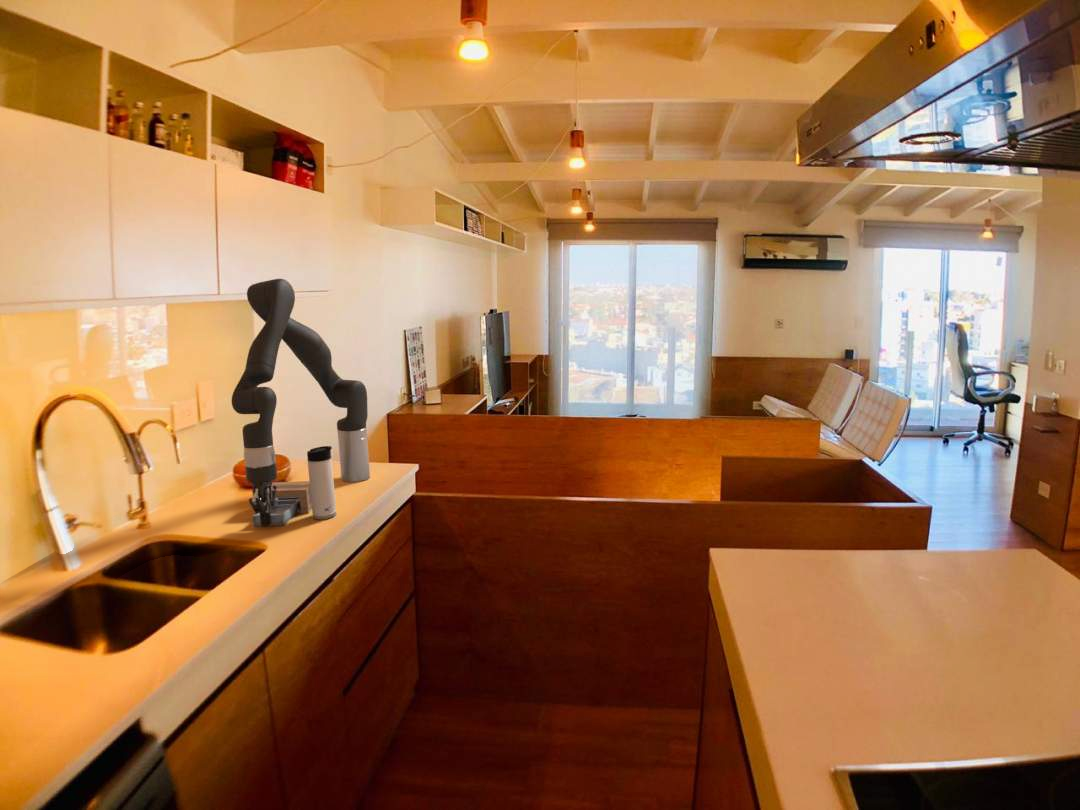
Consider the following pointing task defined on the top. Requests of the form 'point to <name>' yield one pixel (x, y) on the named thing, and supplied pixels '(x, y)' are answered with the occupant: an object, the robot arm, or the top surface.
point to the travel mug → (321, 482)
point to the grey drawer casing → (295, 493)
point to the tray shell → (280, 512)
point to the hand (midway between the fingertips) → (266, 525)
